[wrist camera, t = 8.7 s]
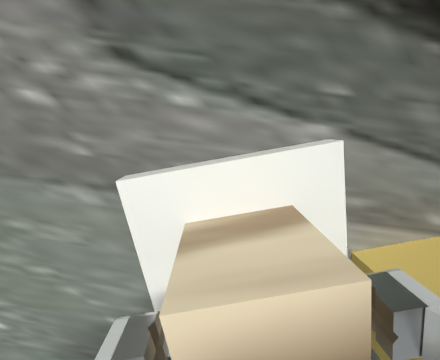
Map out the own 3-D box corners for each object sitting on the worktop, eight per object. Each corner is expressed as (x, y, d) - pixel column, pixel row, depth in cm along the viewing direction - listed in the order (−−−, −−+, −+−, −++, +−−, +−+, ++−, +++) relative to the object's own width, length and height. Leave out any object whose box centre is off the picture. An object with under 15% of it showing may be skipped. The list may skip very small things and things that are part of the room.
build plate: (126, 175, 10) (115, 181, 9) (328, 139, 10) (343, 140, 9) (172, 336, 13) (168, 357, 12) (337, 306, 13) (349, 324, 12)
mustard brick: (350, 251, 12) (444, 334, 7) (438, 235, 12) (592, 308, 7) (352, 322, 13) (435, 434, 8) (432, 308, 13) (561, 412, 8)
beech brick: (184, 223, 10) (158, 316, 5) (292, 205, 10) (371, 280, 5) (204, 311, 11) (199, 456, 6) (300, 295, 11) (370, 427, 6)
